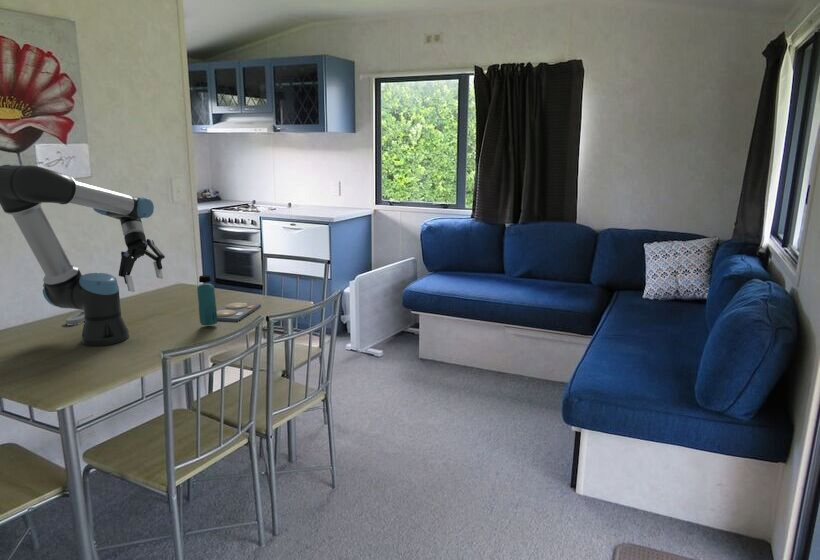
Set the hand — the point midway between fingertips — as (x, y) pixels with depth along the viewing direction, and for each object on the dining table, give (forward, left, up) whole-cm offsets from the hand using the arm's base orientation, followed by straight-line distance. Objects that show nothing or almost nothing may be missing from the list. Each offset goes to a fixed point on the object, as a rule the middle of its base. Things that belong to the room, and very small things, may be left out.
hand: (145, 284), depth 229 cm
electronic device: (-1, +29, -16) cm, 33 cm away
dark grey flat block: (+18, -26, -15) cm, 35 cm away
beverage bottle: (-1, -25, -16) cm, 30 cm away
